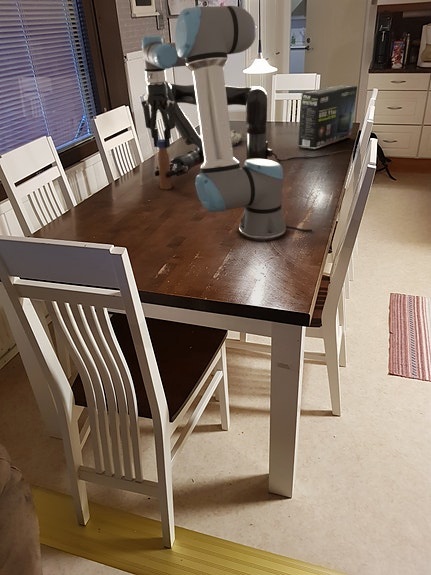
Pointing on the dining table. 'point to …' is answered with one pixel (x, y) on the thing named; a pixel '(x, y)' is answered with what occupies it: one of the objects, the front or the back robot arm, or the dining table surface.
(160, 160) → the bottle
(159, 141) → the cap
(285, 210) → the dining table surface
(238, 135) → the fossil
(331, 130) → the router box
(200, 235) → the dining table surface
